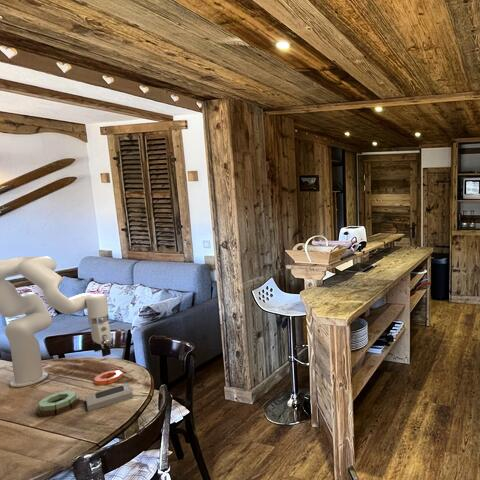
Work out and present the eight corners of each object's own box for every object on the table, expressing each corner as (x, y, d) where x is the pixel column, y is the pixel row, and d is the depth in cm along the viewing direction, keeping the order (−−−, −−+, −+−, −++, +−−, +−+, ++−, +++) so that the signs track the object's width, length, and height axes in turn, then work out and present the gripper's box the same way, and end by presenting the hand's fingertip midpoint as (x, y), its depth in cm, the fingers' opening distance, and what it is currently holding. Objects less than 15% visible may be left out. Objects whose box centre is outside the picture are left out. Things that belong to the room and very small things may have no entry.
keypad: (85, 394, 154) (128, 381, 165) (86, 401, 154) (128, 389, 165) (87, 403, 147) (131, 390, 158) (87, 411, 148) (132, 397, 158)
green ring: (35, 404, 148) (35, 400, 148) (70, 392, 158) (70, 388, 157) (44, 413, 142) (43, 409, 142) (80, 400, 152) (79, 396, 152)
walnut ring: (34, 410, 148) (33, 405, 148) (72, 396, 158) (71, 391, 158) (43, 419, 142) (43, 414, 142) (82, 404, 152) (82, 400, 152)
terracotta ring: (91, 380, 171) (91, 377, 171) (116, 372, 180) (116, 368, 180) (100, 387, 166) (99, 383, 166) (125, 377, 175) (125, 374, 175)
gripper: (115, 320, 169) (119, 354, 171) (101, 314, 178) (104, 346, 180) (96, 325, 163) (100, 360, 165) (82, 318, 172) (86, 351, 174)
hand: (102, 353), depth 173 cm, fingers open, 9 cm apart
